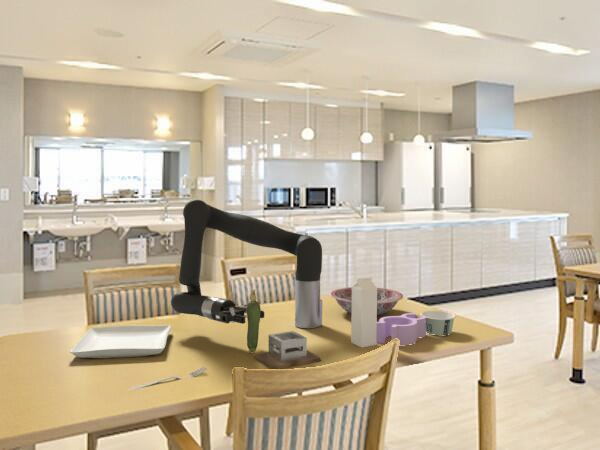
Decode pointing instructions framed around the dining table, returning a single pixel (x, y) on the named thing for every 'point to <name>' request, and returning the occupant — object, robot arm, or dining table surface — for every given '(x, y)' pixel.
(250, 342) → the vegetable
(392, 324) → the clip
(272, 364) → the brown rectangular board
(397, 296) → the ceramic bowl
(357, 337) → the milk
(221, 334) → the dining table surface
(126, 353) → the square plate
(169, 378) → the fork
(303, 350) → the gray slotted crate
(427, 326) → the food container
